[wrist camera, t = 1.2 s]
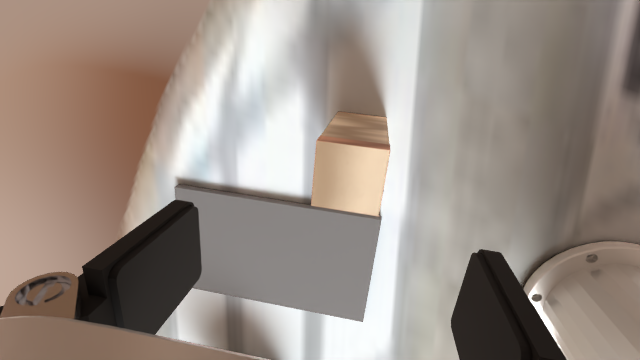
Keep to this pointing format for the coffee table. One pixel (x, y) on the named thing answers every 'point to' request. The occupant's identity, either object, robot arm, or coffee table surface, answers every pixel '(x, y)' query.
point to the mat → (284, 251)
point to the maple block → (351, 164)
